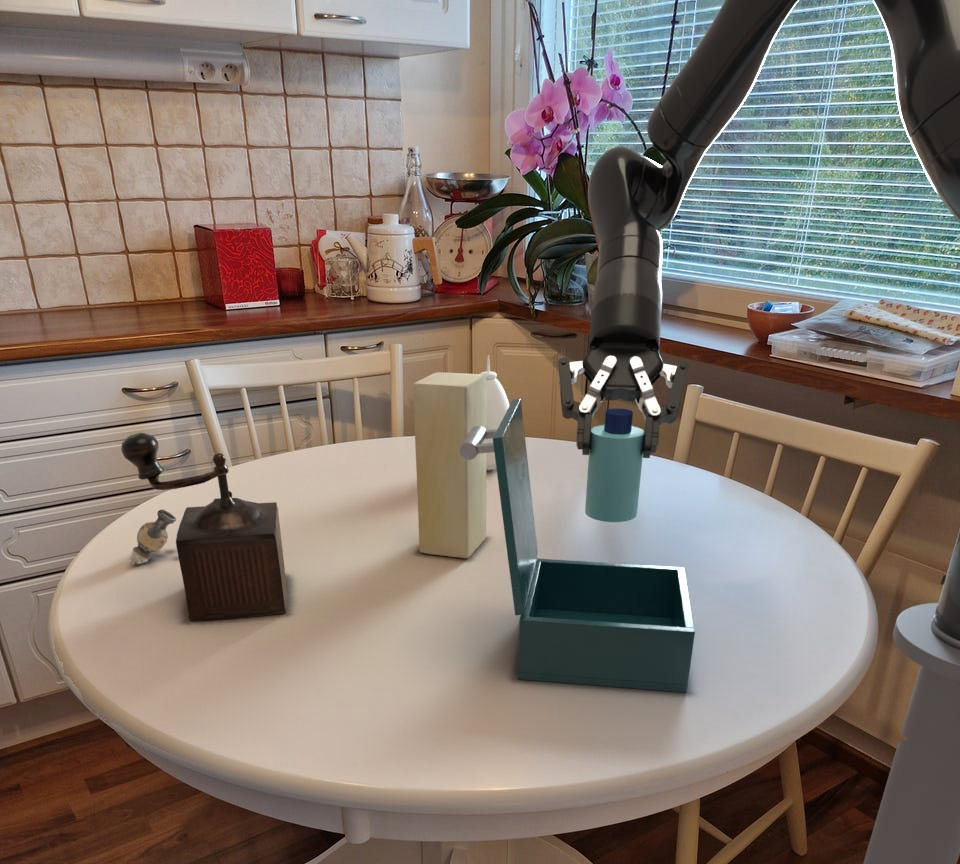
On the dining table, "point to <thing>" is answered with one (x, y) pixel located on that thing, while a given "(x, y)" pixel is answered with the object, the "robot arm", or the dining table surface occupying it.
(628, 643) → the teal open box
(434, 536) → the toy refrigerator
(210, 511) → the manual coffee grinder
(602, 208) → the robot arm
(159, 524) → the vase
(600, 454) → the water bottle
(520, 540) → the teal box lid
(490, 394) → the sauce bottle
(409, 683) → the dining table surface
